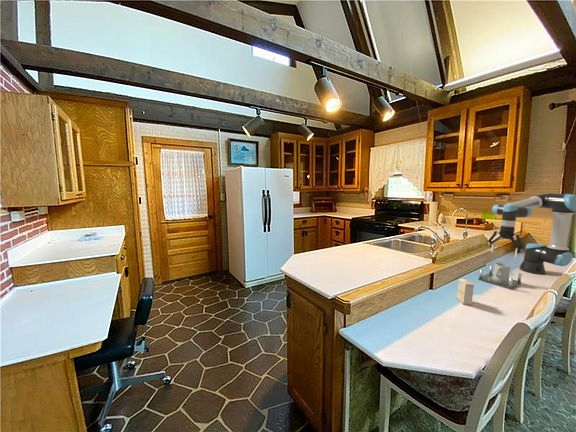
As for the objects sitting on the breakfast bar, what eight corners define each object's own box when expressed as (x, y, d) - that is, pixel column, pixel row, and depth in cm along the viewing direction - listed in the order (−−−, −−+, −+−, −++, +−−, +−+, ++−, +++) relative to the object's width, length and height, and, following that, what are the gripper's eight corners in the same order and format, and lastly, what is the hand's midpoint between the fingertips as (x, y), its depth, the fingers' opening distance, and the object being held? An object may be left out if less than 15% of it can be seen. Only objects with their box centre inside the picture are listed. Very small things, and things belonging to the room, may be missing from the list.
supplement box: (471, 305, 144) (474, 284, 142) (462, 304, 145) (465, 283, 143) (464, 298, 152) (467, 279, 150) (456, 298, 153) (458, 278, 151)
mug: (496, 275, 186) (498, 262, 184) (510, 280, 178) (512, 265, 177) (488, 278, 180) (490, 264, 178) (503, 283, 172) (505, 268, 171)
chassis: (489, 274, 192) (490, 265, 191) (521, 283, 176) (522, 274, 175) (478, 279, 182) (479, 270, 181) (510, 289, 166) (512, 279, 165)
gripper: (484, 223, 182) (480, 251, 185) (529, 229, 160) (524, 260, 164) (488, 222, 185) (485, 249, 189) (533, 228, 164) (528, 258, 167)
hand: (503, 254), depth 176 cm, fingers open, 13 cm apart
